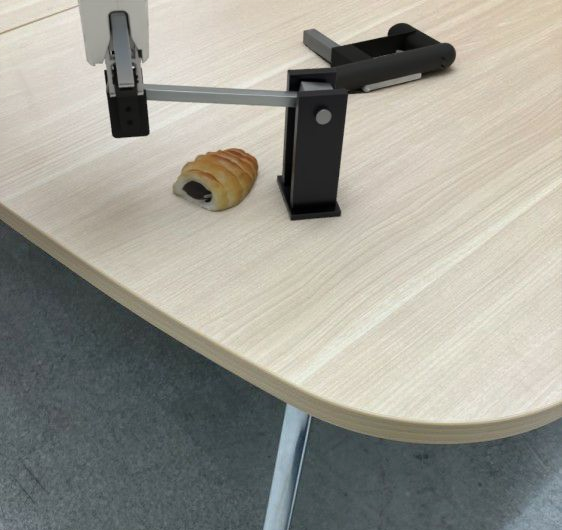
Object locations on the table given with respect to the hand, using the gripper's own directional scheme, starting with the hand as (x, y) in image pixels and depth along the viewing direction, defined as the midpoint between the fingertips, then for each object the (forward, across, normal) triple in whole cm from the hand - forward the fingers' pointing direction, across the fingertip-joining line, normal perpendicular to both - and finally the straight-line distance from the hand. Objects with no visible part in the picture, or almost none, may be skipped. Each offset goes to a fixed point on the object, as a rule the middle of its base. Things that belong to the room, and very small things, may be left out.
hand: (129, 122), depth 69 cm
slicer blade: (0, 0, +8) cm, 8 cm away
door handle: (+10, -29, +30) cm, 43 cm away
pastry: (+10, -3, +8) cm, 13 cm away
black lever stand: (+10, 0, +17) cm, 20 cm away
